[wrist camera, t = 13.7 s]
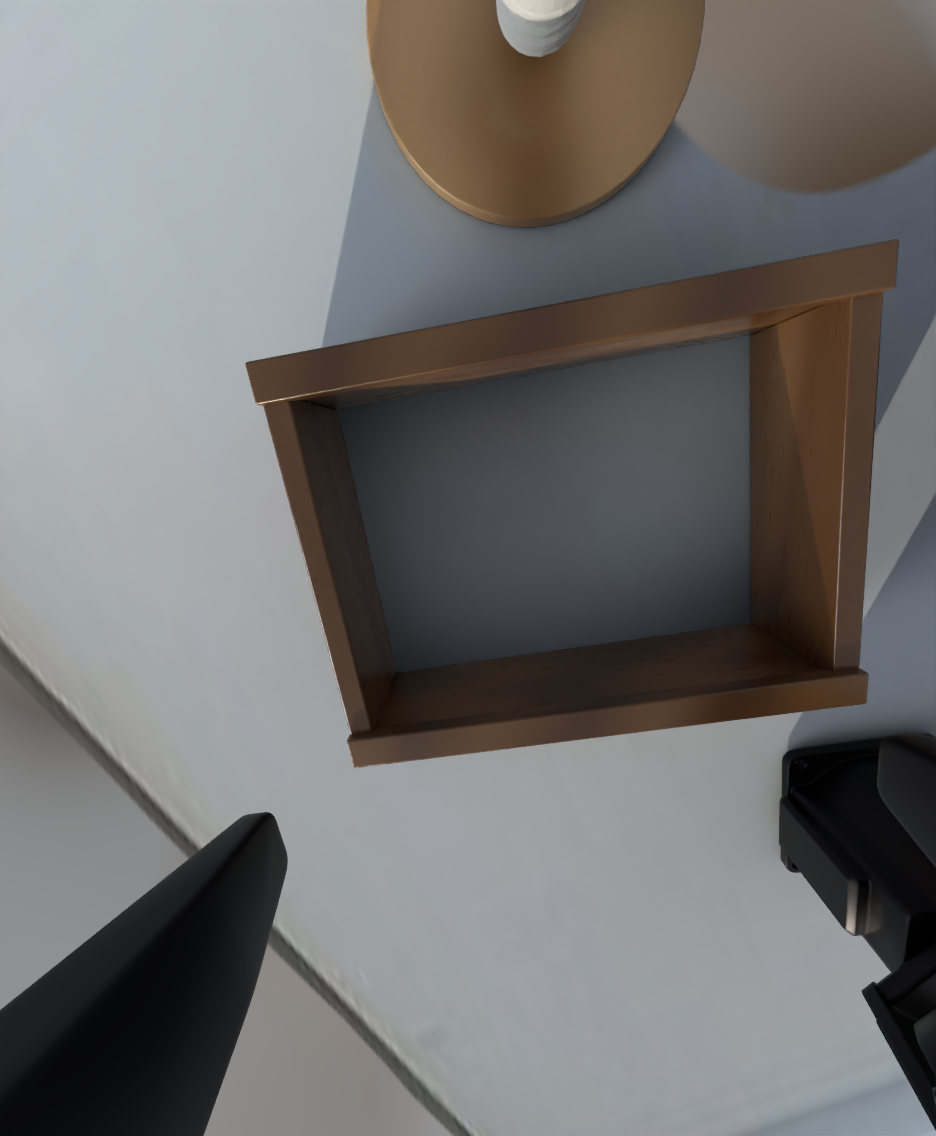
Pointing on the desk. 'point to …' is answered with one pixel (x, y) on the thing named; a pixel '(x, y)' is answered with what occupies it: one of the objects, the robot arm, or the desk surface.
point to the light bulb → (538, 23)
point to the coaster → (530, 101)
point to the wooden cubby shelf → (644, 666)
